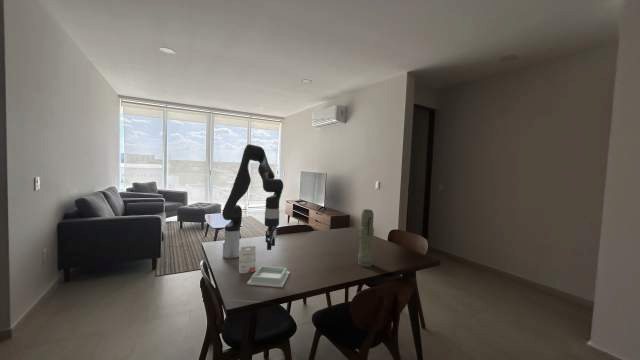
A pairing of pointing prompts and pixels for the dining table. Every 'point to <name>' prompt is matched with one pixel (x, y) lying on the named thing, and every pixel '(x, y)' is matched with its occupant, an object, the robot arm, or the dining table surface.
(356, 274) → the dining table surface
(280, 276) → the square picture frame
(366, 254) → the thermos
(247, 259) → the ink cartridge box
